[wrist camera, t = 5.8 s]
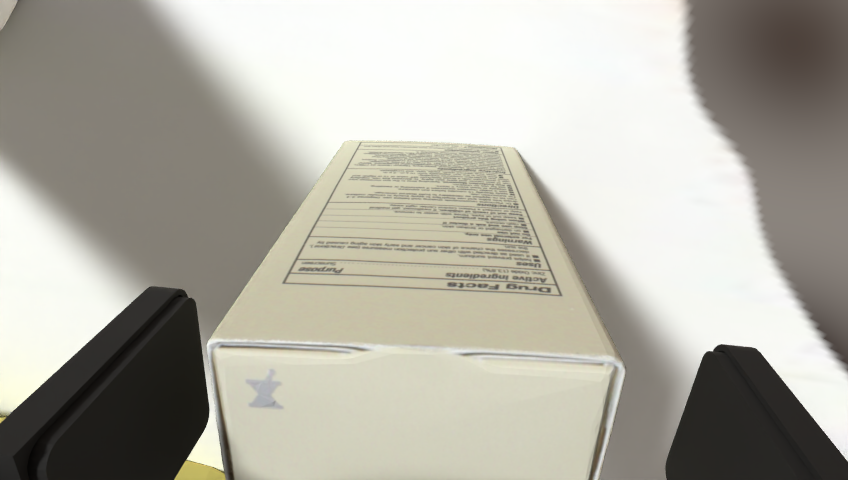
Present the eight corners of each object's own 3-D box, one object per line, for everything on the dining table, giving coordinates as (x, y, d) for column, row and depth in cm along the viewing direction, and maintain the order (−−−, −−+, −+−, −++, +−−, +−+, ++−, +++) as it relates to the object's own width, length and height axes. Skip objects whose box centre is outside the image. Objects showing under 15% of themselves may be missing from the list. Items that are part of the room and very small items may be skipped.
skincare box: (345, 248, 21) (214, 545, 9) (342, 135, 19) (177, 336, 8) (515, 258, 20) (585, 574, 9) (528, 145, 19) (635, 367, 7)
